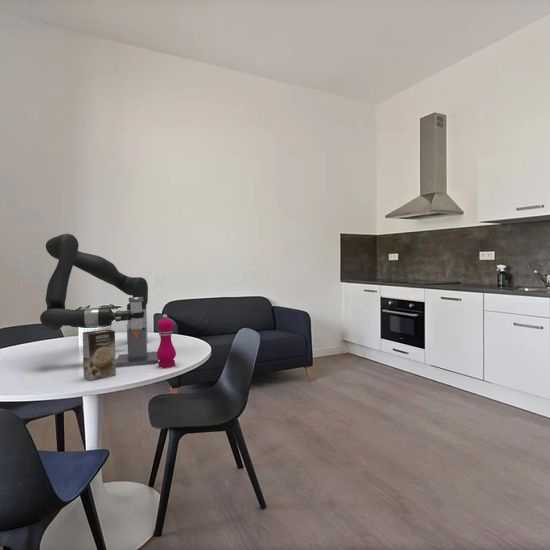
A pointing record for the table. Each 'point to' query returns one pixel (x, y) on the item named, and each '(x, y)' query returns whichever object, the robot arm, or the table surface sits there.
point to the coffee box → (99, 354)
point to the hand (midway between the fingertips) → (143, 314)
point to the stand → (137, 350)
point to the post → (136, 308)
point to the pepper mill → (165, 343)
